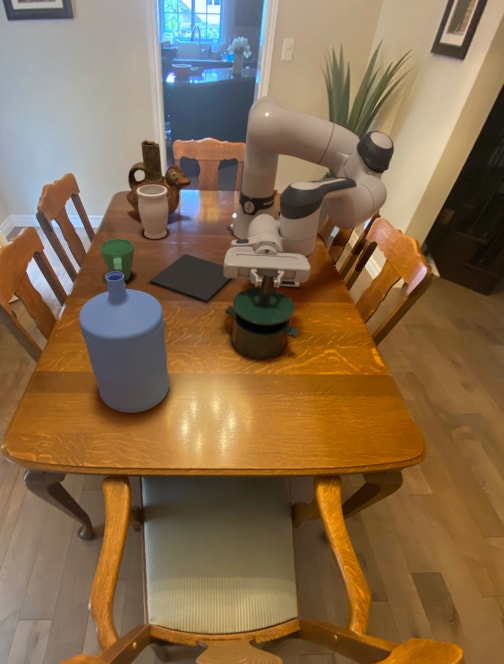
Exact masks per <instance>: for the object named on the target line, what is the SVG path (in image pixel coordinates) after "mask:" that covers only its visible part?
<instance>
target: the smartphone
mask: <svg viewBox="0 0 504 664" xmlns="http://www.w3.org/2000/svg"><path fill="white" fill-rule="evenodd" d="M300 283H301V282H291V281H283V282H281V283H280V286H279V287H286V288H287V287H289V288H300V286H301V284H300ZM250 284H251V285H255V283H253V282H252V281H251V280H250Z"/></svg>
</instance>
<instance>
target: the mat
mask: <svg viewBox="0 0 504 664" xmlns="http://www.w3.org/2000/svg"><path fill="white" fill-rule="evenodd" d="M223 268H224V265H222V264H219V263H215V262H213V261H209V260H207V259H202V258H199V257H197V256H194V255H190V254H187V253H185V254H183V255H182V256H181V257H180V258H178V259H176V260H175V261H174V262H173V263H172V264H170V265H169V266H168V267H167V268H165V269H164V270H162V271H161V272H160V273H159V274H157V275H156V276H155V277H153V278H152V279H151V280H150V283H151V284H153V285H156V286H159V287H161V288H164V289H166V290H170V291H173V292H175V293H178V294H181V295H184V296H186V297H190V298H192V299H195V300H197V301H200V302H204V303H208V302H209V301H210V300H211V299H212V298H213V297H215V295H217V294H218V292H220V290H222V289H223V288H224V287H225V286H226V285H227V284H228V283H229V282H230V281H231V280H232V279H233V278H226V277H225V276H224V275H223Z"/></svg>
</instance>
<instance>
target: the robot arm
mask: <svg viewBox="0 0 504 664" xmlns="http://www.w3.org/2000/svg"><path fill="white" fill-rule="evenodd" d="M244 148H245V149H244V158H243V171H242V181H241V189H240V191H239V199H238V203H237V205H236V206H235V209H234V213H233V214H232V218H233V223H231V224H230V225H229V229H230V230H231V231H232V232H233V235H234V236H235V237H236V238H238V239H233V240H231V241H230V246H229V249H228V250H227V251H226V253H225V256H224V259H223V266H224V268H223V275H224V276H225V277H226V278H232V279H236V280H237V279H241V280H250V282H251V281H252V282H253V283H255V284H254V288H260V287H262V276H263V272H264V271H273V272H274V273H275V276H274V281H273V287H272V289H280V287H281V286H280V283H281V282H283V281H291V282H299V283H306V282H307V281H308V280H309V277H310V274H311V269H312V267H311V264H310V262H309V261H308V260H309V259H308V258H309V257H310V256H311V255H312V254H314V252H315V250H316V243H317V237H318V230H319V222H320V216H321V209H322V206H323V203H324V201H326V211H327V212H326V213H327V217H328V218H329V221H330V222H331V223H332V224H333V225H334V226H335V227H336V228H338V229H341V230H352V229H355V228H357V227H359V226H361V225H362V224H364V223H366V222H367V221H369V220H370V219H371V218H373V216H375V215H376V214H378V212H379V211H380V210H381V209H382V208H383V206H384V205H385V203H386V201H387V196H388V189H387V186H386V184H385V183H384V182H383V181H382V179H381V178H382V176H383V174H384V173H385V172H386V171H388V170H389V168H390V163H391V161H392V158H393V155H394V152H395V147H394V142H393V139H392V138H391V137H390V136H389V135H388V134H386V133H384V132H382V131H378V130H372V131H369V132H366V133H365V134H364V135H363V136H362V137H361V139H360V137H358V135H357V134H356V133H354V132H352V131H351V130H349V129H347V128H346V127H344V126H341V125H340V124H337V123H335V122H333V121H329V120H326V119H323V118H321V117H318V116H316V115H312V114H311V113H310V114H309V113H303V112H298V111H295V110H290V109H286V108H283V106H282V104H281V102H280V101H279V100H278V99H277V98H276V97H274V96H271V95H264V96H261V97H259V98H257V99H255V101H254V102H253V104H252V105H251V107H250V109H249V112H248V116H247V125H246V139H245V147H244ZM280 155H281V156H289V157H293V158H297V159H300V160H302V161H305V162H308V163H312V164H314V165H316V166H320V167H322V168H323V167H324V168H327V169H330V170H332V171H333V173H334V174H335V176H334V177H328V178H323V179H317V180H312V181H311V180H310V181H296V182H292V183H290V184H288V186H286V188H284V190H283V191H282V192H281V194H280V196H279V207H278V206H277V205H276V203H275V201H276V196H278V189H275V186H276V181H277V180H276V178H277V174H278V165H279V156H280Z"/></svg>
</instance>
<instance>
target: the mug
mask: <svg viewBox="0 0 504 664" xmlns="http://www.w3.org/2000/svg"><path fill="white" fill-rule="evenodd" d="M99 251H100V254H101V257H102V259H103V261H104V264H105V266H106V268H107V270H108V272H113V271H118V272H122V273H123V274H124V282H126V281H128V280H129V279H130V277H131V274H132V269H133V263H134V256H135V255H134V253H135V245H134V243H133V242H132V241H130V240H128V239H126V238H125V239H124V238H112V239H108V240H104V242H103V244H102V243H101V244H100V245H99Z"/></svg>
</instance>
